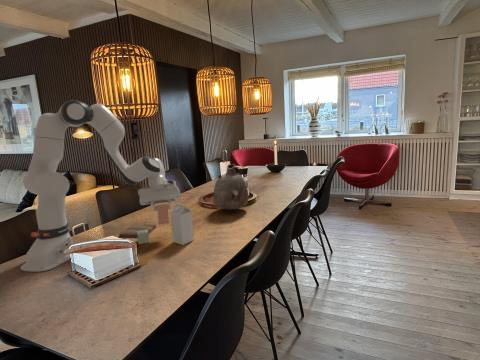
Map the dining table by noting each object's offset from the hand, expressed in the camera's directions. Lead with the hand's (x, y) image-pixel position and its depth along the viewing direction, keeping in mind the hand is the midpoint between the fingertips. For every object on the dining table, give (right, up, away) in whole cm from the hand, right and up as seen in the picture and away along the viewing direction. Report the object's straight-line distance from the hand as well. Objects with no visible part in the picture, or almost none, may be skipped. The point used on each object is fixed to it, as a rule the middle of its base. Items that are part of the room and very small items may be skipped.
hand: (162, 209), depth 154 cm
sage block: (-9, -16, 0) cm, 18 cm away
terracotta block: (0, -7, +2) cm, 7 cm away
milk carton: (+11, -16, -2) cm, 19 cm away
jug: (+33, -5, +43) cm, 55 cm away
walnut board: (-16, -13, +14) cm, 25 cm away
